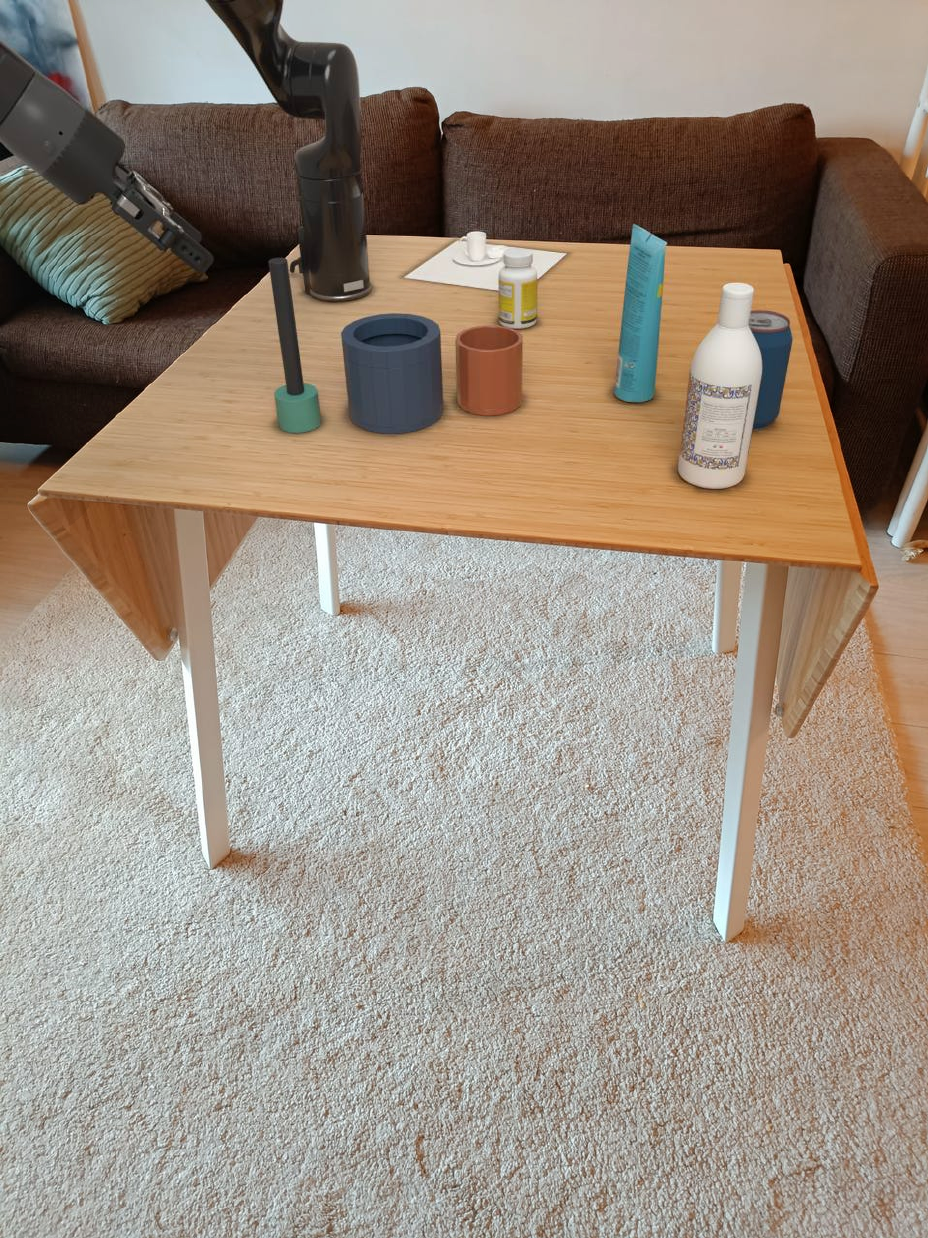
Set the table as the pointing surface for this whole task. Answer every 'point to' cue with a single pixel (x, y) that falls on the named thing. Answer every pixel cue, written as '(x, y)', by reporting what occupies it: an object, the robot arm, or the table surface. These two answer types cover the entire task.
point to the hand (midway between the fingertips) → (202, 254)
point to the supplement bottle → (517, 289)
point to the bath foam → (722, 396)
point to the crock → (489, 369)
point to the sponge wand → (291, 360)
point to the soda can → (770, 362)
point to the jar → (393, 372)
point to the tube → (641, 318)
